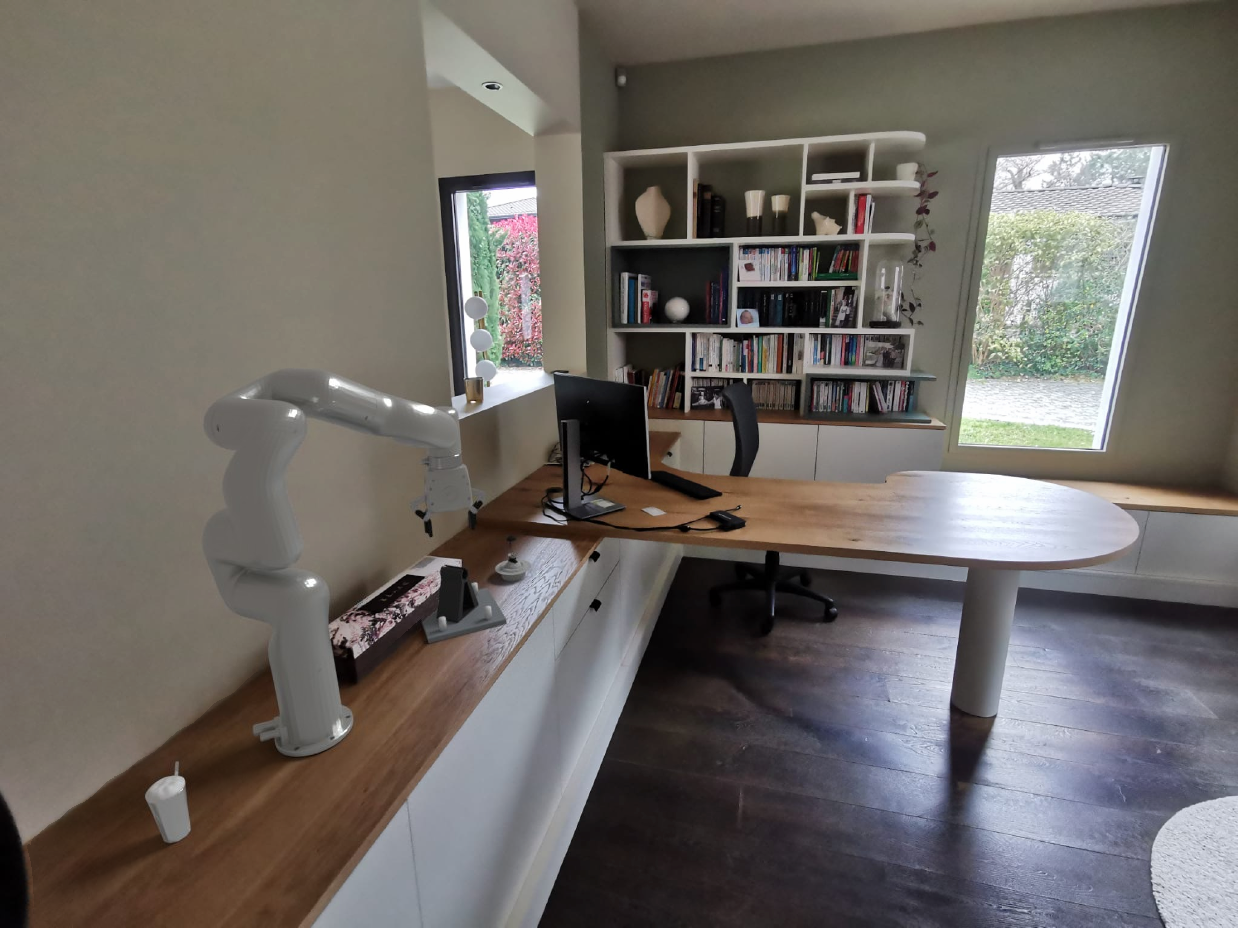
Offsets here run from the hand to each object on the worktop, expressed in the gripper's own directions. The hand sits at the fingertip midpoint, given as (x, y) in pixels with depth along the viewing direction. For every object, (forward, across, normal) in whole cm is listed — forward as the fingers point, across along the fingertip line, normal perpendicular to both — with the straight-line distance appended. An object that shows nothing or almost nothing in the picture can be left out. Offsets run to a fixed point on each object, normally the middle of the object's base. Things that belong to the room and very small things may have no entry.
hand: (451, 531), depth 139 cm
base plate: (+22, 0, 0) cm, 22 cm away
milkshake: (+23, -50, -43) cm, 69 cm away
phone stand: (+21, 0, 0) cm, 21 cm away
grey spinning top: (+22, +18, +15) cm, 33 cm away
